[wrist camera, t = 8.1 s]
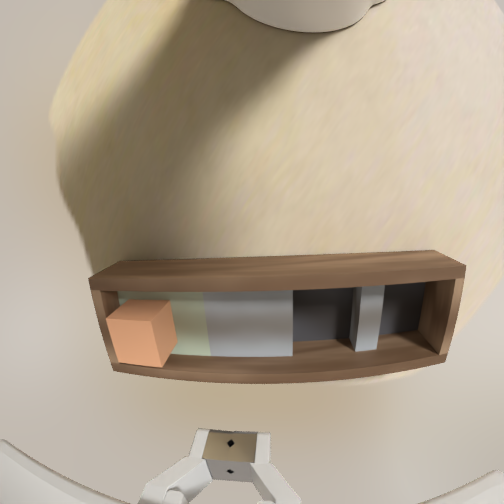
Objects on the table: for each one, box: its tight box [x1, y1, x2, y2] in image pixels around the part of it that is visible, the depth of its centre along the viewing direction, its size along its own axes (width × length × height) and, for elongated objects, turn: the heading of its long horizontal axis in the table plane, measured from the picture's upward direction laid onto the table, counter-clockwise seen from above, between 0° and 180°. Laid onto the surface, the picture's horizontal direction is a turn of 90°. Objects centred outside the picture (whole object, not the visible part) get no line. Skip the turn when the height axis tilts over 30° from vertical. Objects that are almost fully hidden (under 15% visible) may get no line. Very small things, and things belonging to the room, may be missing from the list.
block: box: [106, 299, 178, 367], centre depth 21 cm, size 4×4×4 cm
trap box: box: [88, 250, 466, 384], centre depth 22 cm, size 9×30×6 cm, turn 93°
